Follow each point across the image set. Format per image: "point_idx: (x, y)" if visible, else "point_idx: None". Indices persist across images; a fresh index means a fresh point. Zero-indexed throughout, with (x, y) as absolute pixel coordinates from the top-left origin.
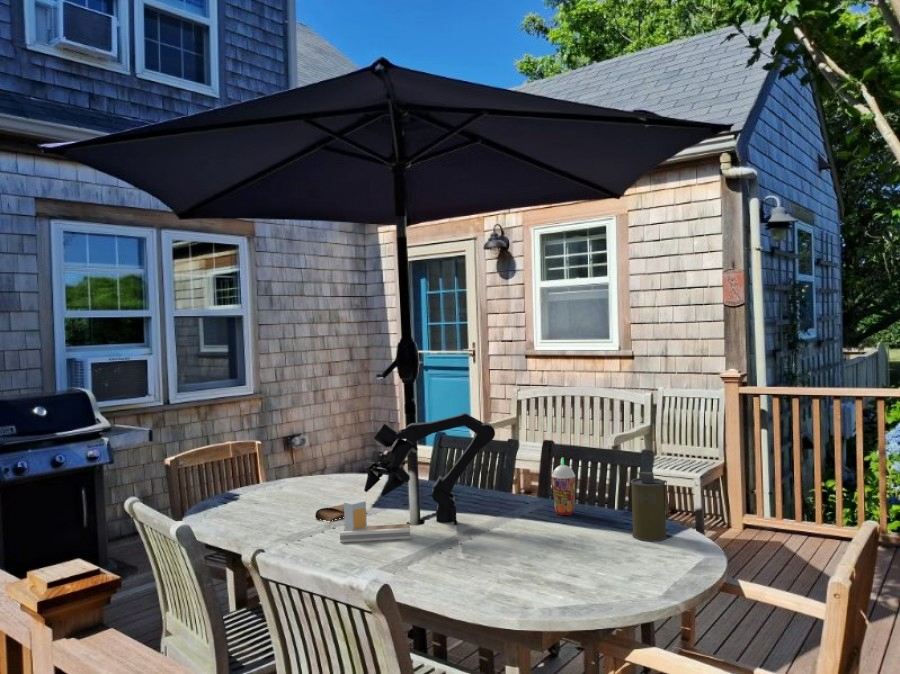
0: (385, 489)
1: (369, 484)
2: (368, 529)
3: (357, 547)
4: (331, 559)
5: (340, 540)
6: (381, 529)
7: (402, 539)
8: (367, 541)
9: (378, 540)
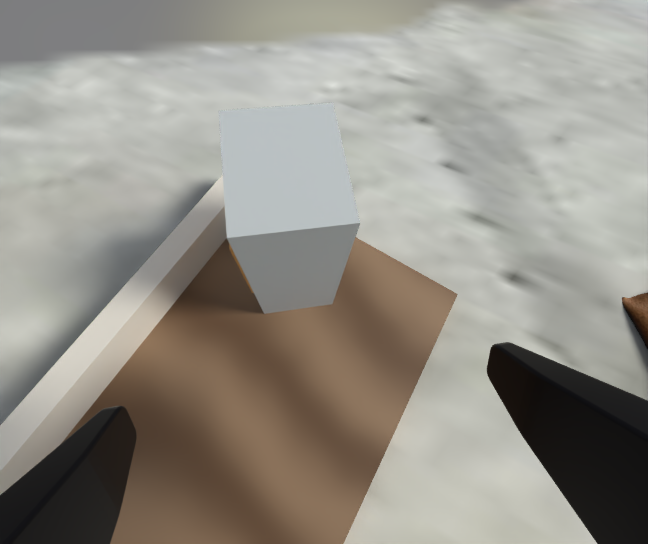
0: (13, 499)
1: (587, 448)
2: (344, 366)
3: (175, 221)
4: (132, 101)
5: None
6: (117, 326)
7: None
8: None
9: None
